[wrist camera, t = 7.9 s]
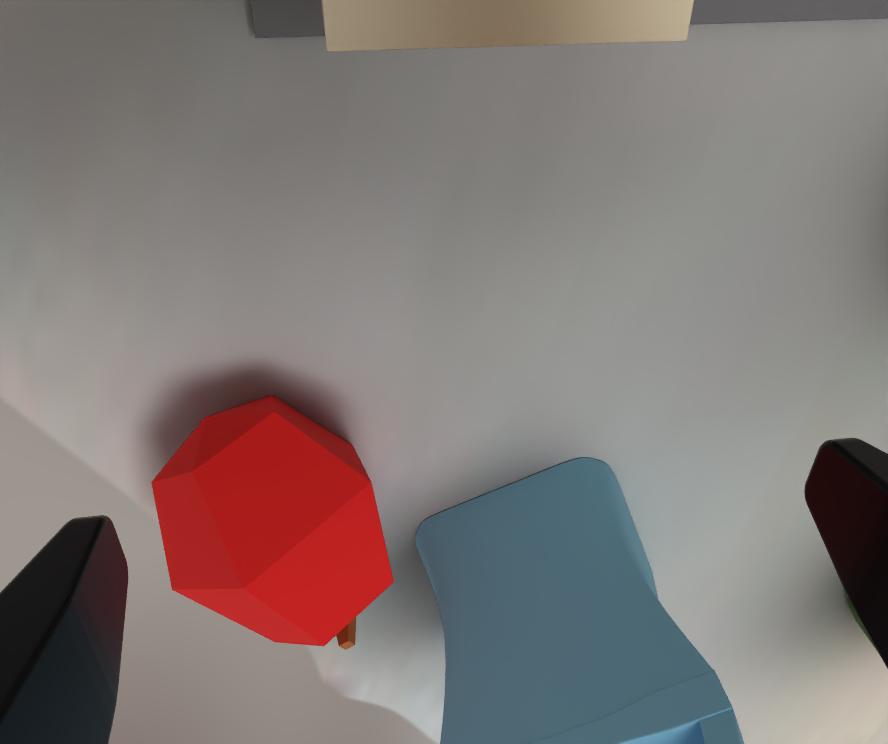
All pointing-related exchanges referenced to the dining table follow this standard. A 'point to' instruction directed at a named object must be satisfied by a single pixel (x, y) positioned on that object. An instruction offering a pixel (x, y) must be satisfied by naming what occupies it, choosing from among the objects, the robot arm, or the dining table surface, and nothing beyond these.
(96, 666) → the robot arm
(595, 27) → the birch cube
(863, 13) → the mat
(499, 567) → the vase
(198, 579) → the apple
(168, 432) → the dining table surface
